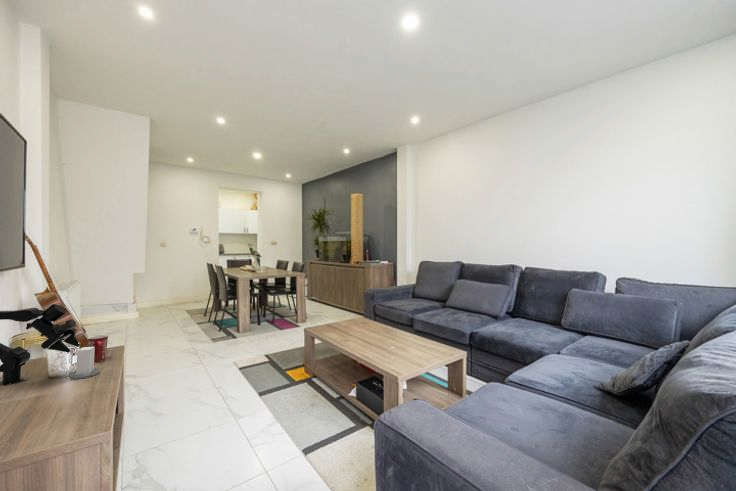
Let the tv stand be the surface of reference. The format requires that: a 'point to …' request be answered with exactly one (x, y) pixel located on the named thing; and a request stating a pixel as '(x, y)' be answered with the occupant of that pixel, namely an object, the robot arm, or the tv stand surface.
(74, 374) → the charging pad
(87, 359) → the block
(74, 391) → the tv stand surface
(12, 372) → the robot arm
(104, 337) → the mug
